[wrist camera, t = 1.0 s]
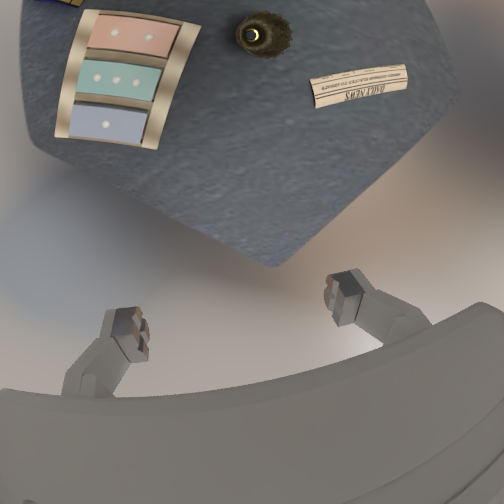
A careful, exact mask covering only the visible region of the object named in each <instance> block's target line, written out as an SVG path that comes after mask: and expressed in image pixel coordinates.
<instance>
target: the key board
mask: <svg viewBox="0 0 504 504" xmlns="http://www.w3.org/2000/svg"><path fill="white" fill-rule="evenodd" d="M98 15H105V16H118V17H127V18H136V19H143V20H149V21H155V22H161V23H166V24H171V25H176V26H179V28H178V30H177V33H176V35H175V37H174V40H173V42H172V44H171V47H170V49H169V52H168V54H167V57H162V56H157V55H152V54H146V53H140V52H133V51H126V50H118V49H109V48H97V47H87V45H88V42H89V39H90V36H91V33H92V30H93V27H94V24H95V22H96V19H97V17H98ZM200 28H201V26H199V25H195V24H191V23H187V22H183V21H178V20H174V19H169V18H164V17H158V16H153V15H146V14H139V13H132V12H122V11H110V10H87V9H85V10H84V12H83V15H82V17H81V20H80V23H79V26H78V29H77V32H76V35H75V38H74V41H73V44H72V48H71V51H70V55H69V58H68V62H67V66H66V70H65V75H64V79H63V84H62V89H61V94H60V100H59V106H58V113H57V120H56V129H55V137H63V138H75V139H85V140H94V141H103V142H111V143H118V144H125V145H132V146H138V147H145V148H151V149H157V147H158V144H159V140H160V136H161V133H162V130H163V126H164V123H165V120H166V116H167V113H168V110H169V107H170V104H171V101H172V98H173V95H174V92H175V90H176V87H177V84H178V81H179V79H180V76H181V73H182V71H183V68H184V66H185V63H186V61H187V58H188V56H189V53H190V51H191V48H192V46H193V44H194V41H195V39H196V37H197V35H198V33H199V30H200ZM84 59H96V60H107V61H116V62H124V63H131V64H138V65H144V66H150V67H155V68H160V69H162V71H161V73H160V76H159V79H158V82H157V85H156V88H155V91H154V94H153V97H152V101H151V102H150V101H145V100H139V99H133V98H126V97H119V96H111V95H102V94H93V93H81V92H75V91H76V87H77V82H78V78H79V74H80V70H81V66H82V62H83V60H84ZM76 102H85V103H96V104H105V105H113V106H120V107H127V108H134V109H140V110H146V111H148V114H147V118H146V121H145V125H144V129H143V133H142V137H141V141H140V144H135V143H128V142H121V141H114V140H106V139H98V138H89V137H79V136H68V134H69V127H70V120H71V113H72V107H73V104H75V103H76Z"/></svg>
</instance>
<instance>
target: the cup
mask: <svg viewBox="0 0 504 504" xmlns="http://www.w3.org/2000/svg"><path fill="white" fill-rule="evenodd" d="M248 31H254V32H255V34H256V37H255V38H254V39H252V40H249V39H247V38H246V33H247V32H248ZM291 34H293V31H291V30H290V23H289V22H288V21H287V20H286V19H284V18H283V16H282V15H280V14H273V13H269V11H262V12H255V13H253V14H251V15H249V16H248V17H247V18H245V19H244V20H243V21H242V22H241V23H240V24H239V26H238V27H237V30H236V40H237V42H238V44H239V45H240V47H241V48H242V49H243V50H245V51H246V52H248V53H249V54H251V55H252V56H255V57H260V58H266V59H269V58H277V57H278V56H279V54H281V53H285V50H284V49H287V48H288V47H290V43H291V42H292V40H293V39H292V37H291V36H290V35H291Z"/></svg>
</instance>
